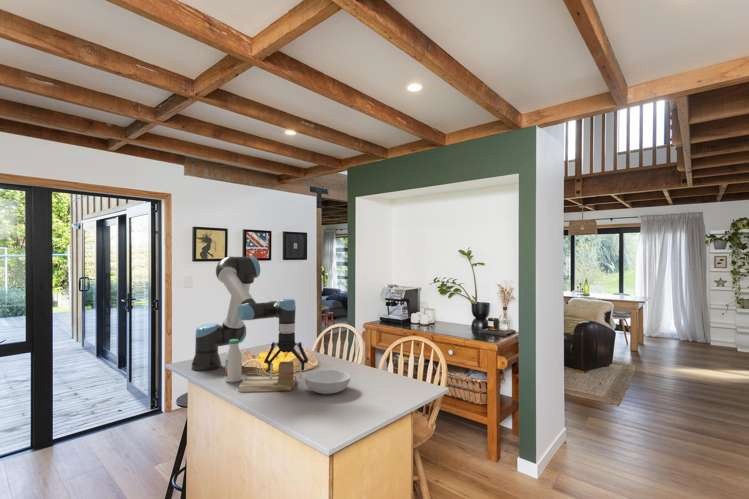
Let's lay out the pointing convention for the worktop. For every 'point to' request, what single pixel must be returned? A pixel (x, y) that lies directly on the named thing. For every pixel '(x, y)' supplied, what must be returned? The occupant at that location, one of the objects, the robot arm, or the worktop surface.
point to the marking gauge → (285, 375)
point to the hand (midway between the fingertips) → (286, 377)
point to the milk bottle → (233, 362)
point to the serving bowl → (327, 381)
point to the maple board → (262, 384)
